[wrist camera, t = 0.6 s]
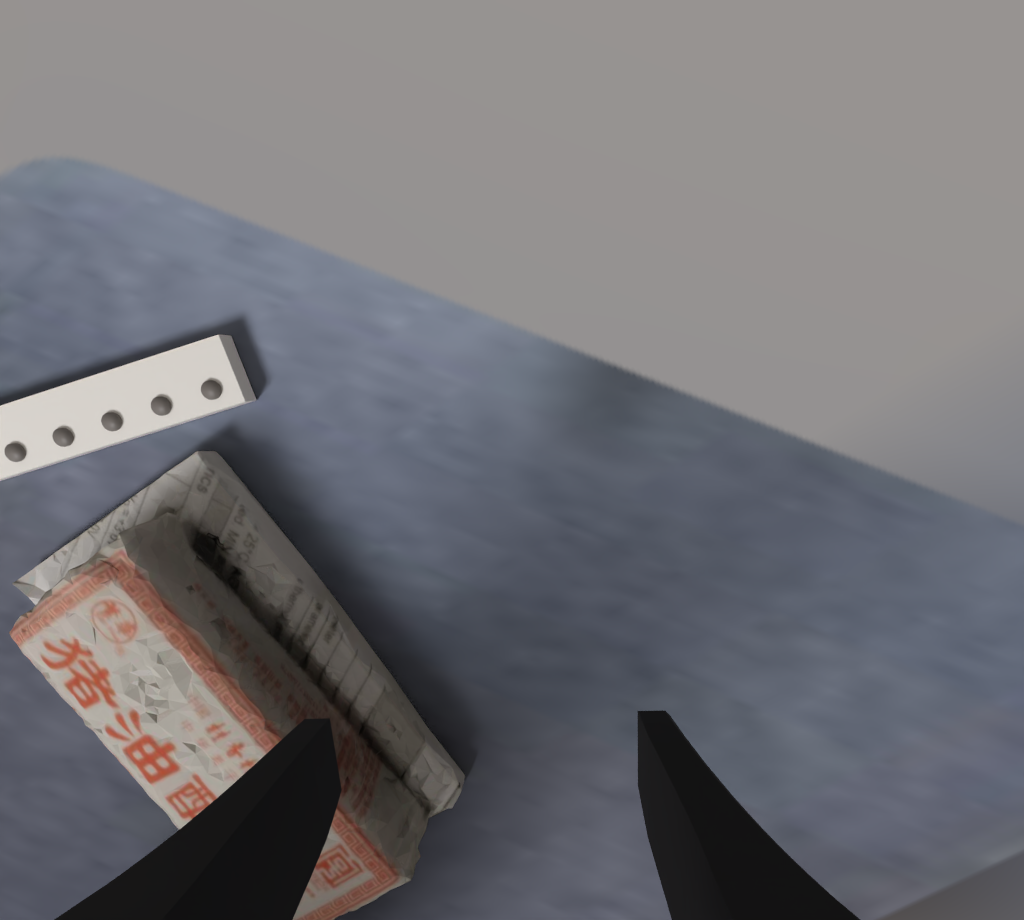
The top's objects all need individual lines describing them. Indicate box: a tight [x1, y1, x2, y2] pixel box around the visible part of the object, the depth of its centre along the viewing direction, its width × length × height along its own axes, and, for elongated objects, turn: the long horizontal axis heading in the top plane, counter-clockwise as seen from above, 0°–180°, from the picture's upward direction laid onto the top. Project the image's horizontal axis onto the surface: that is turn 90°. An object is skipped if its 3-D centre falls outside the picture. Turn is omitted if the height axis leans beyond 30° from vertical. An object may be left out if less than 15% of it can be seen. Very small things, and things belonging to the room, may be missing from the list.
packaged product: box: [9, 451, 465, 920], centre depth 19 cm, size 18×5×10 cm
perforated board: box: [0, 334, 256, 481], centre depth 19 cm, size 16×2×1 cm, turn 107°
